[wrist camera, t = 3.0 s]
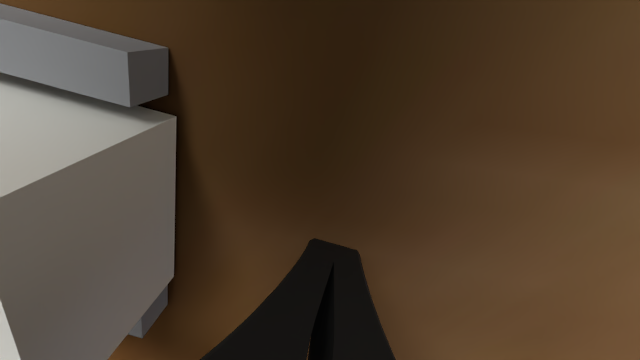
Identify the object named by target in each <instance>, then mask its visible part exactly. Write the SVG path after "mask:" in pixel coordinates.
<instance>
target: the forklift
mask: <svg viewBox="0 0 640 360" xmlns="http://www.w3.org/2000/svg"><path fill="white" fill-rule="evenodd" d="M0 72H1V73H5V74H9V75H12V76H16V77H20V78H24V79H27V80H31V81H35V82H38V83H42V84H46V85H49V86H53V87H57V88H60V89H64V90H68V91H71V92H75V93H79V94H82V95H86V96H90V97H93V98H97V99H101V100H104V101H108V102H112V103H115V104H119V105H123V106H126V107H133V106H136V105H139V104H142V103H145V102H148V101H151V100H154V99H157V98H160V97H163V96H166V95H168V47H164V46H160V45H156V44H152V43H149V42H145V41H141V40H137V39H133V38H130V37H126V36H122V35H118V34H114V33H111V32H107V31H103V30H99V29H95V28H92V27H88V26H84V25H80V24H76V23H73V22H69V21H65V20H61V19H57V18H54V17H50V16H46V15H42V14H38V13H35V12H31V11H27V10H23V9H19V8H16V7H12V6H8V5H4V4H0ZM167 305H168V284H167V286H166V287H165V288H164V289H163V291H162V292H161V293H160V294H159V296H158V297H157V298H156V299H155V301H154V302H153V303H152V304H151V306H150V307H149V308H148V309H147V311H146V312H145V313H144V314H143V316H142V317H141V318H140V319H139V321H138V322H137V323H136V324H135V326H134V327H133V328H132V329H131V331H130V332H129V333H128V334H129V335H133V336H136V337H139V338H143V337H144V335H145V334H146V333H147V331H148V330H149V329H150V327H151V326H152V325H153V323H154V322H155V321H156V319H157V318H158V317H159V315H160V314H161V313H162V311H163V310H164V309H165V307H166V306H167Z"/></svg>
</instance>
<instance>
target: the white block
mask: <svg viewBox="0 0 640 360" xmlns="http://www.w3.org/2000/svg"><path fill="white" fill-rule="evenodd" d="M175 178H176V116H174V115H170V114H166V113H163V112H159V111H155V110H152V109H148V108H144V107H140V106H137V105H136V106H133V107H126V106H123V105H119V104H115V103H112V102H108V101H104V100H101V99H97V98H93V97H90V96H86V95H82V94H79V93H75V92H71V91H68V90H64V89H60V88H57V87H53V86H49V85H46V84H42V83H38V82H35V81H31V80H27V79H24V78H20V77H16V76H12V75H9V74H5V73H1V72H0V360H107V359H108V358H109V357H110V355H111V354H112V353H113V352H114V350H115V349H116V348H117V347H118V345H119V344H120V343H121V342H122V341H123V339H124V338H125V337H126V336H127V334H128V333H129V332H130V331H131V329H132V328H133V327H134V326H135V324H136V323H137V322H138V321H139V319H140V318H141V317H142V316H143V314H144V313H145V312H146V311H147V309H148V308H149V307H150V306H151V304H152V303H153V302H154V301H155V299H156V298H157V297H158V296H159V294H160V293H161V292H162V291H163V289H164V288H165V287H166V286H167V284H168V283H169V282H170V281H171V279H172V278H173V277H174V242H175Z"/></svg>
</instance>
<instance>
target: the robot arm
mask: <svg viewBox="0 0 640 360" xmlns="http://www.w3.org/2000/svg"><path fill="white" fill-rule="evenodd" d="M310 337H311V339H310ZM309 342H310V347H309ZM308 347H309V354H308V360H396V359H395V357H394V355H393V353H392V350H391V348H390V345H389V343H388V341H387V338H386V336H385V333H384V331H383V328H382V326H381V323H380V320H379V318H378V315H377V312H376V309H375V307H374V304H373V301H372V298H371V295H370V292H369V289H368V285H367V282H366V279H365V275H364V271H363V267H362V263H361V259H360V254H359V253H358V251H357V250H354V249H350V248H347V247H343V246H340V245H336V244H333V243H329V242H326V241H322V240H319V239H315V238H314V239H312V240H310V241H309V243H308V246H307V247H306V249H305V251H304V253H303V254H302V256H301V257H300V259H299V260H298V261H297V263H296V264H295V266H294V267H293V268H292V270H291V271H290V272H289V273H288V274H287V276H286V277H285V278H284V279H283V280H282V282H281V283H280V284H279V285H278V286H277V288H276V289H275V290H274V291H273V292H272V293H271V294H270V295H269V296H268V297H267V298H266V299H265V300H264V301H263V303H262V304H261V305H260V306H259V307H258V308H257V309H256V310H255V311H254V312H253V313H252V314H251V315H250V316H249V317H248V318H247V319H246V320H245V321H244V322H243V323H242V324H241V325H239V326H238V327H237V328H236V329H235V330H234V331H233V332H232V333H231V334H230V335H228V336H227V337H226V338H225V339H224V340H223V341H222V342H221V343H219V344H218V345H217V346H216V347H215V348H213V349H212V350H211V351H210V352H209V353H207V354H206V355H205V356H204V357H202V358H201V359H200V360H306V358H307V353H308Z"/></svg>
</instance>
